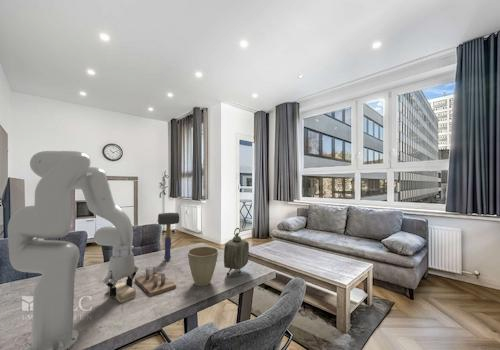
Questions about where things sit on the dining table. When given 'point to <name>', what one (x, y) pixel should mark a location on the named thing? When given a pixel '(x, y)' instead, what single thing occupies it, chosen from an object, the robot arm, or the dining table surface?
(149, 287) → the wooden peg stand
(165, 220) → the rubber mallet
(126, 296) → the oak board
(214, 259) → the plant pot
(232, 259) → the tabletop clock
